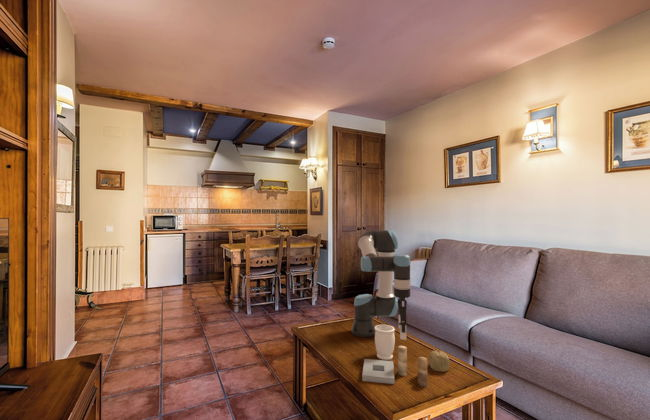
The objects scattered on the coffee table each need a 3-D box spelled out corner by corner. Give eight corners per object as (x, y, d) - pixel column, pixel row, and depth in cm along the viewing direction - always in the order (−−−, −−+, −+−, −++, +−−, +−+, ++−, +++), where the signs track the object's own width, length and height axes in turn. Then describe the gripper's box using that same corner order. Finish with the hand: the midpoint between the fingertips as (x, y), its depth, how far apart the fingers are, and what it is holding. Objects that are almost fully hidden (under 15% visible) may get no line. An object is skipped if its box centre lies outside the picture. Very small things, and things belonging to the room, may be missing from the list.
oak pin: (417, 373, 142) (417, 356, 142) (426, 374, 141) (426, 357, 141) (418, 378, 138) (418, 360, 138) (428, 379, 137) (427, 361, 138)
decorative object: (428, 370, 152) (421, 357, 149) (441, 356, 155) (434, 342, 152) (443, 381, 144) (436, 367, 141) (456, 366, 147) (450, 351, 144)
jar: (395, 362, 153) (395, 332, 154) (374, 360, 155) (374, 330, 156) (394, 353, 164) (394, 324, 164) (375, 351, 166) (375, 323, 166)
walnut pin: (417, 381, 135) (417, 370, 135) (426, 382, 135) (426, 371, 135) (418, 386, 131) (418, 374, 131) (427, 387, 131) (427, 375, 131)
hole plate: (364, 363, 152) (364, 358, 152) (393, 366, 149) (393, 361, 149) (362, 380, 136) (362, 375, 136) (394, 384, 133) (394, 378, 133)
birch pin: (397, 370, 145) (397, 345, 145) (406, 371, 144) (406, 346, 144) (398, 375, 141) (398, 349, 141) (407, 376, 140) (407, 349, 140)
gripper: (393, 282, 156) (393, 324, 155) (394, 293, 132) (395, 343, 131) (408, 282, 155) (408, 325, 154) (412, 294, 130) (413, 344, 130)
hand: (402, 333), depth 143 cm, fingers open, 13 cm apart
